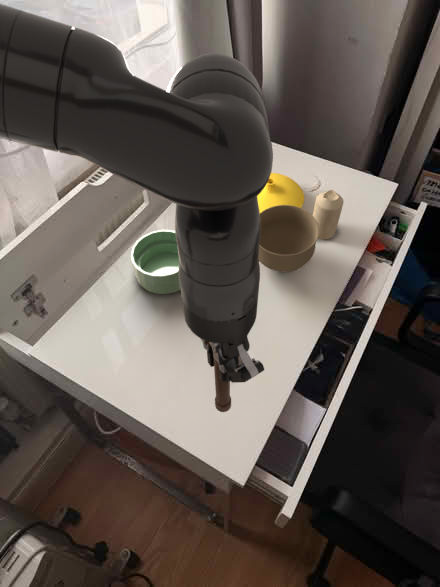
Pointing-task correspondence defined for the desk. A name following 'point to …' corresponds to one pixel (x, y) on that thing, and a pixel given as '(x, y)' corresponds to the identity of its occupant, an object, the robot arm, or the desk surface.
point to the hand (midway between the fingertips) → (222, 369)
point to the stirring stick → (221, 391)
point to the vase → (280, 193)
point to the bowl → (287, 237)
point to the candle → (327, 213)
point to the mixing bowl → (157, 262)
